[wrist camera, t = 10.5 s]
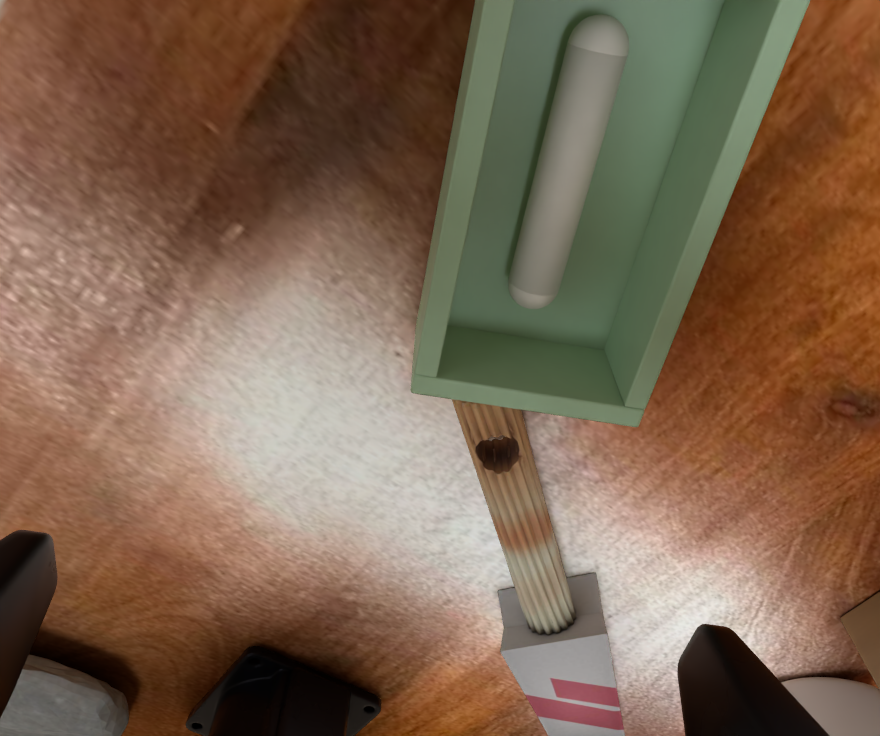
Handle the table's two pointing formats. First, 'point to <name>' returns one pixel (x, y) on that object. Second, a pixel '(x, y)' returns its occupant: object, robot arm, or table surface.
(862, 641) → the tan tall block
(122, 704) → the stone
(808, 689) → the eye dropper bottle
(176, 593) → the table surface
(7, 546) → the robot arm
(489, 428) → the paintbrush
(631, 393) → the bin
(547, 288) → the rod with rounded ends
